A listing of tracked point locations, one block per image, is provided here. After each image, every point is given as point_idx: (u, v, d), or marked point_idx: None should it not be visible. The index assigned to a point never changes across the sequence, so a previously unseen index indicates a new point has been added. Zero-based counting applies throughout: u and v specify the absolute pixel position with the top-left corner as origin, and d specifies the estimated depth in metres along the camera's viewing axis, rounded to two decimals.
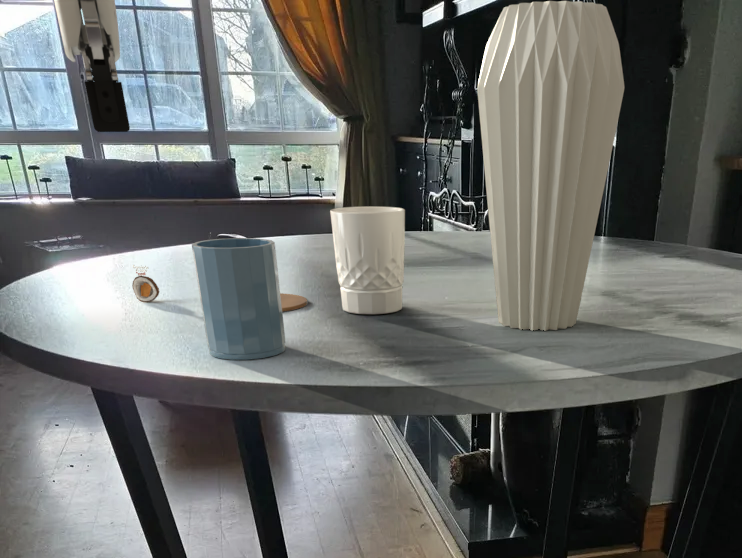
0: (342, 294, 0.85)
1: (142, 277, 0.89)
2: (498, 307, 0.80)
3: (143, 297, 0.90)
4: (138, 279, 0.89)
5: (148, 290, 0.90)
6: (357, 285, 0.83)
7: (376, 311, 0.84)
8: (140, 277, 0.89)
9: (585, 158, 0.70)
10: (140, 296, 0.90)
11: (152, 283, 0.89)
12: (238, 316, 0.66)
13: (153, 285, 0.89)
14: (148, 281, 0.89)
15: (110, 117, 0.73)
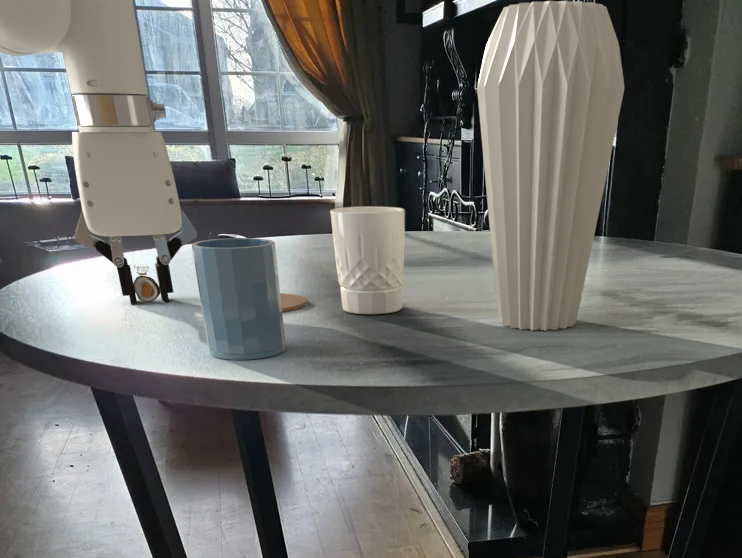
0: (342, 294, 0.85)
1: (143, 277, 0.89)
2: (498, 307, 0.80)
3: (144, 297, 0.90)
4: (139, 279, 0.89)
5: (149, 290, 0.90)
6: (357, 285, 0.83)
7: (376, 311, 0.84)
8: (141, 277, 0.89)
9: (585, 158, 0.70)
10: (141, 296, 0.90)
11: (153, 283, 0.89)
12: (238, 316, 0.66)
13: (154, 285, 0.89)
14: (149, 281, 0.89)
15: (122, 292, 0.90)
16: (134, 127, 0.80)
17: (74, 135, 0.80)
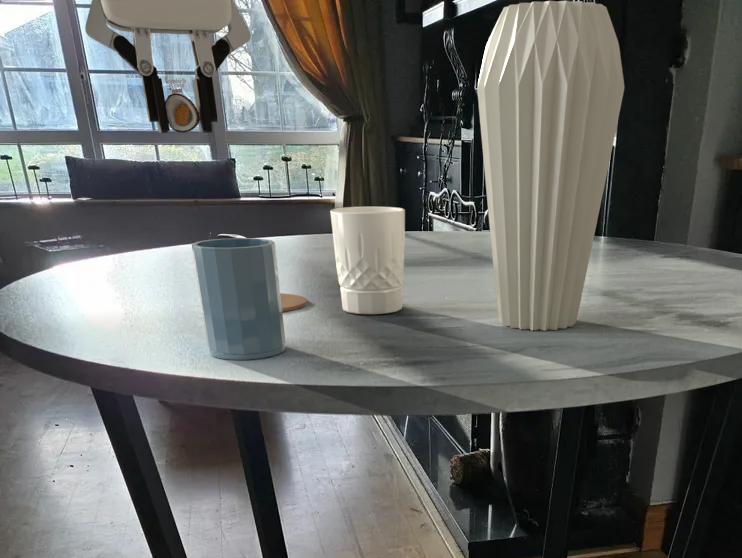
0: (342, 294, 0.85)
1: (178, 95, 0.66)
2: (498, 307, 0.80)
3: (179, 125, 0.67)
4: (172, 98, 0.66)
5: (185, 115, 0.67)
6: (357, 285, 0.83)
7: (376, 311, 0.84)
8: (175, 95, 0.66)
9: (585, 158, 0.70)
10: (174, 124, 0.67)
11: (191, 104, 0.66)
12: (238, 316, 0.66)
13: (193, 107, 0.66)
14: (186, 101, 0.66)
15: (148, 116, 0.66)
16: None
17: None
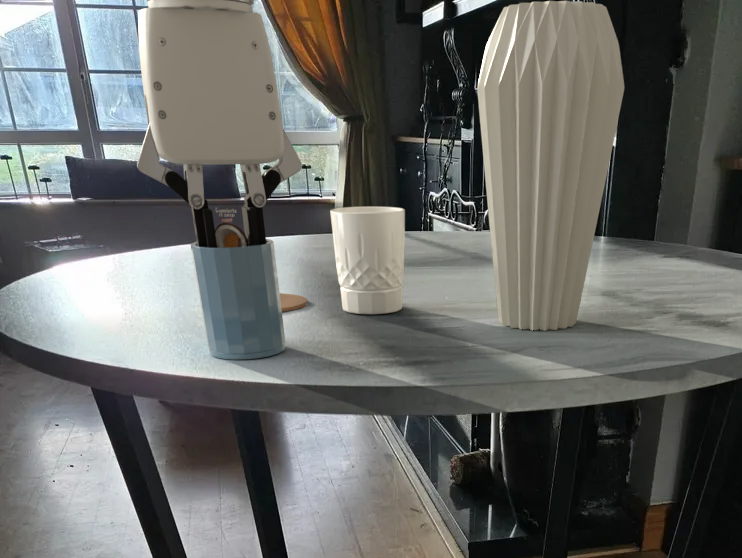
0: (342, 294, 0.85)
1: (228, 224, 0.65)
2: (498, 307, 0.80)
3: None
4: (222, 227, 0.65)
5: (235, 243, 0.66)
6: (357, 285, 0.83)
7: (376, 311, 0.84)
8: (225, 224, 0.65)
9: (585, 158, 0.70)
10: None
11: (241, 233, 0.65)
12: (237, 316, 0.66)
13: (242, 236, 0.65)
14: (236, 230, 0.65)
15: (197, 245, 0.65)
16: (229, 2, 0.56)
17: (143, 13, 0.56)
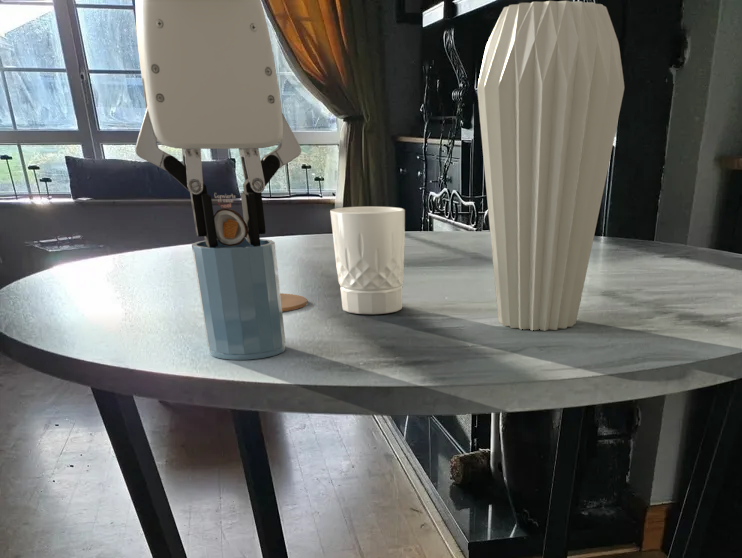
0: (342, 294, 0.85)
1: (227, 210, 0.64)
2: (498, 307, 0.80)
3: (227, 239, 0.66)
4: (221, 213, 0.64)
5: (234, 229, 0.65)
6: (357, 285, 0.83)
7: (376, 311, 0.84)
8: (224, 210, 0.64)
9: (585, 158, 0.70)
10: (222, 238, 0.66)
11: (240, 219, 0.65)
12: (238, 316, 0.66)
13: (241, 221, 0.65)
14: (235, 216, 0.65)
15: (196, 231, 0.65)
16: None
17: None
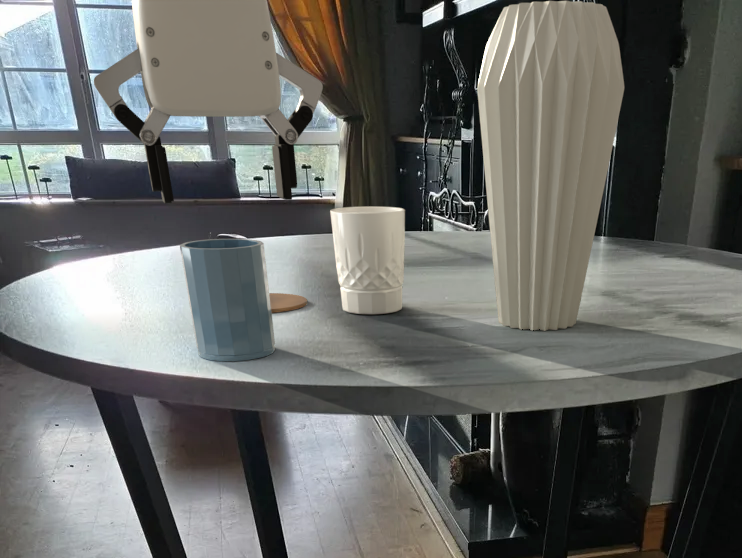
0: (342, 294, 0.85)
1: None
2: (498, 307, 0.80)
3: None
4: None
5: None
6: (357, 285, 0.83)
7: (376, 311, 0.84)
8: None
9: (585, 158, 0.70)
10: None
11: None
12: (227, 317, 0.66)
13: None
14: None
15: (152, 186, 0.62)
16: None
17: None
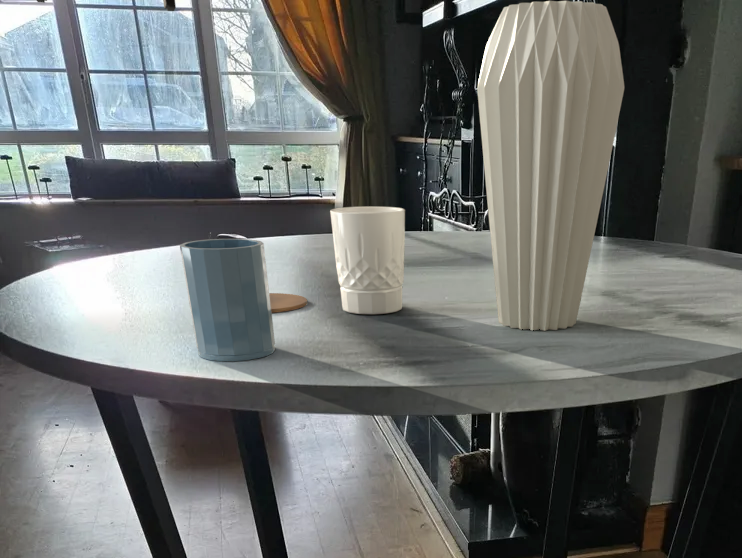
0: (342, 294, 0.85)
1: None
2: (498, 307, 0.80)
3: None
4: None
5: None
6: (357, 285, 0.83)
7: (376, 311, 0.84)
8: None
9: (585, 158, 0.70)
10: None
11: None
12: (227, 317, 0.66)
13: None
14: None
15: None
16: None
17: None
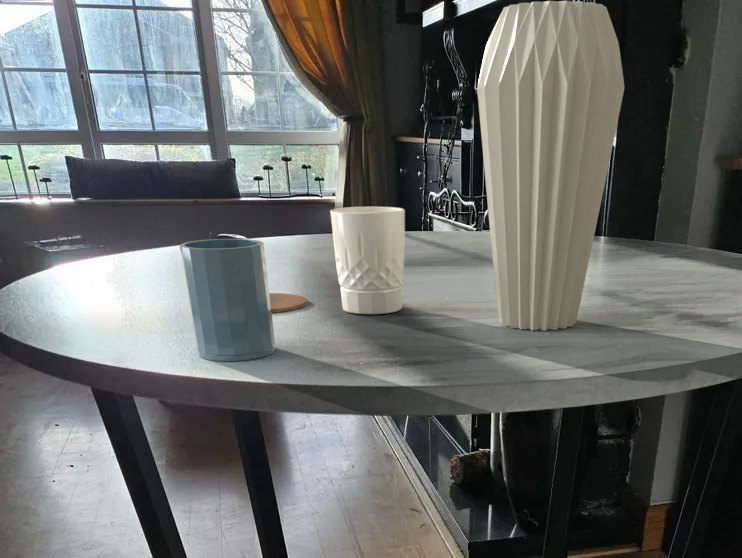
0: (342, 294, 0.85)
1: None
2: (498, 307, 0.80)
3: None
4: None
5: None
6: (357, 285, 0.83)
7: (376, 311, 0.84)
8: None
9: (585, 158, 0.70)
10: None
11: None
12: (227, 317, 0.66)
13: None
14: None
15: None
16: None
17: None
